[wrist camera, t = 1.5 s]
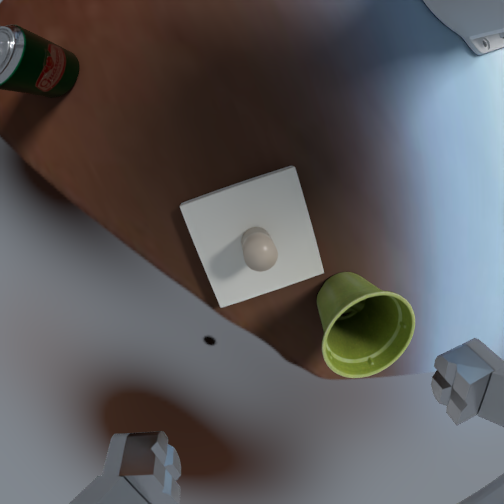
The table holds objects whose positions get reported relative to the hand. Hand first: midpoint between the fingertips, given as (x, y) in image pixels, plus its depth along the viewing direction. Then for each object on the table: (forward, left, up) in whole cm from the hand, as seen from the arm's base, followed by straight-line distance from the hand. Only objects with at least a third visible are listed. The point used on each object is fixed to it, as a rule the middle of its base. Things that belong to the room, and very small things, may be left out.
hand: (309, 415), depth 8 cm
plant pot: (-7, +12, -25) cm, 29 cm away
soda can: (+13, -21, -25) cm, 35 cm away
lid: (0, +2, -24) cm, 24 cm away
